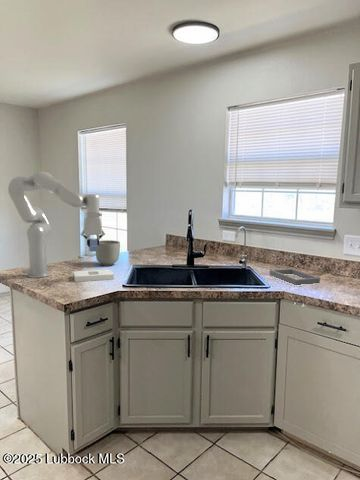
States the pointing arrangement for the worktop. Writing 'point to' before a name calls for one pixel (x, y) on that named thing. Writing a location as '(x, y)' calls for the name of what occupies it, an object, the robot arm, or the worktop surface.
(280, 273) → the frame
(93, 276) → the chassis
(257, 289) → the worktop surface
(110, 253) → the planter
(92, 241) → the servo block
